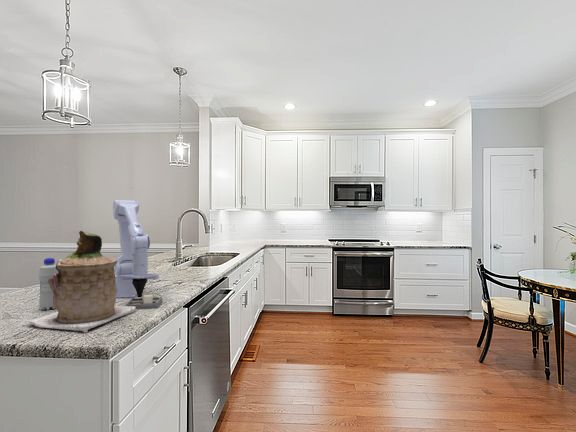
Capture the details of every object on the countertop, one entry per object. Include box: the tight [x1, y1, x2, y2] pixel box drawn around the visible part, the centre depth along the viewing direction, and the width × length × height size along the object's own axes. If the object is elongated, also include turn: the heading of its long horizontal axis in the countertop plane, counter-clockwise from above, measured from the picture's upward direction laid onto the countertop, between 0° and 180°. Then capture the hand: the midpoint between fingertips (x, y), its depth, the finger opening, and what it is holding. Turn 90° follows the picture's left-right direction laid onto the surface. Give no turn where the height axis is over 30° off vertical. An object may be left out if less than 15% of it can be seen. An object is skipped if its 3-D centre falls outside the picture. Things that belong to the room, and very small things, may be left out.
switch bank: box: [125, 295, 163, 310], centre depth 129 cm, size 12×10×2 cm
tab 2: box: [143, 294, 154, 304], centre depth 127 cm, size 3×2×4 cm
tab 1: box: [141, 291, 152, 300], centre depth 132 cm, size 3×2×4 cm
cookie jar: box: [26, 229, 137, 333], centre depth 113 cm, size 25×25×32 cm
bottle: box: [38, 257, 58, 311], centre depth 124 cm, size 7×7×20 cm
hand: (139, 296), depth 132 cm, fingers closed
